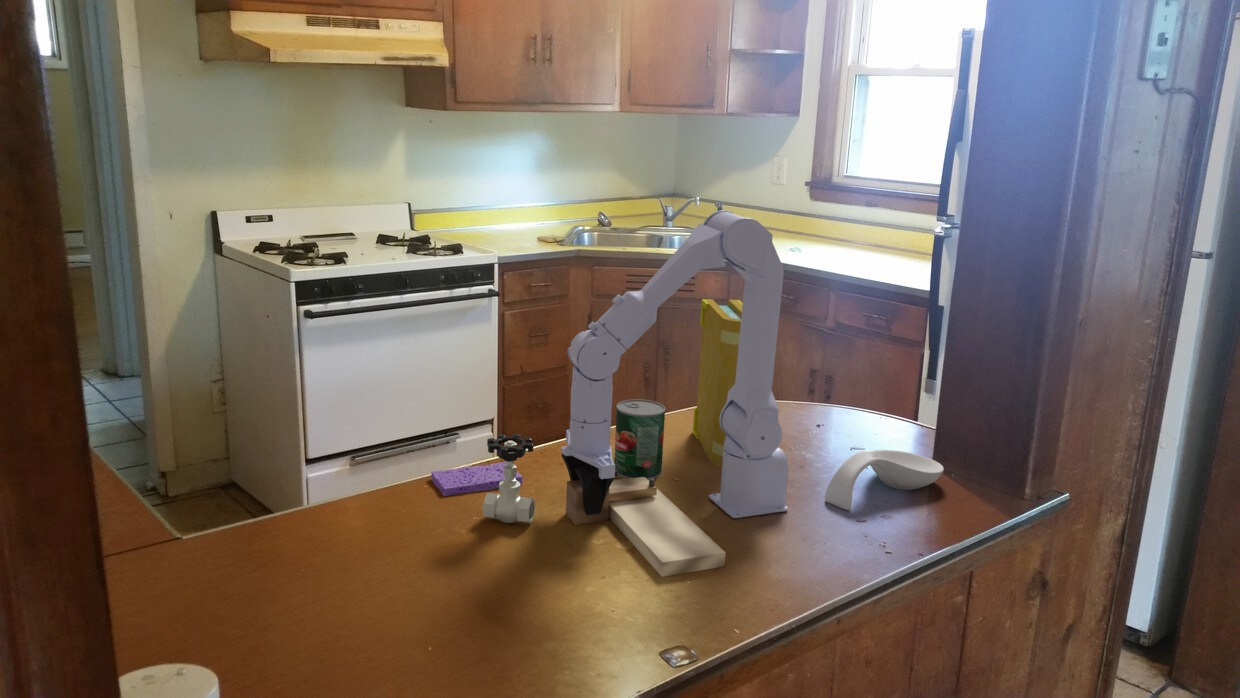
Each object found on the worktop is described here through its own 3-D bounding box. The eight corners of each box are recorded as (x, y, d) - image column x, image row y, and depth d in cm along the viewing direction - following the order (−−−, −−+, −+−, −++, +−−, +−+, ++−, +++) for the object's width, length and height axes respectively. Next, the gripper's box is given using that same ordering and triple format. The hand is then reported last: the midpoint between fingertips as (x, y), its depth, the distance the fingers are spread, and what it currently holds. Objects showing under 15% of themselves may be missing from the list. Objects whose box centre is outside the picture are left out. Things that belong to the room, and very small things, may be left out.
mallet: (647, 502, 138) (649, 471, 136) (658, 513, 134) (660, 481, 133) (565, 513, 133) (566, 481, 131) (575, 525, 129) (576, 492, 128)
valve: (524, 534, 126) (526, 452, 123) (478, 528, 127) (479, 447, 124) (538, 514, 132) (540, 436, 129) (494, 508, 133) (495, 431, 130)
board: (643, 488, 143) (644, 476, 142) (724, 566, 119) (725, 552, 119) (589, 495, 139) (590, 483, 139) (661, 576, 116) (662, 562, 116)
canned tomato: (671, 471, 150) (675, 407, 147) (640, 484, 144) (644, 418, 141) (634, 458, 155) (638, 396, 152) (603, 470, 149) (606, 405, 146)
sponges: (522, 487, 142) (522, 476, 142) (443, 499, 137) (443, 487, 136) (507, 471, 148) (507, 460, 148) (430, 481, 143) (430, 470, 142)
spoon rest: (892, 464, 158) (897, 424, 157) (954, 486, 150) (961, 445, 148) (806, 496, 143) (810, 453, 142) (869, 523, 135) (875, 477, 133)
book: (692, 432, 169) (701, 299, 162) (728, 432, 169) (739, 299, 163) (711, 467, 152) (722, 321, 146) (750, 467, 153) (763, 321, 147)
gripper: (547, 403, 133) (545, 490, 136) (581, 437, 120) (578, 532, 123) (592, 399, 136) (589, 484, 139) (631, 432, 123) (626, 525, 126)
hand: (587, 506), depth 131 cm, fingers closed on mallet, 4 cm apart
